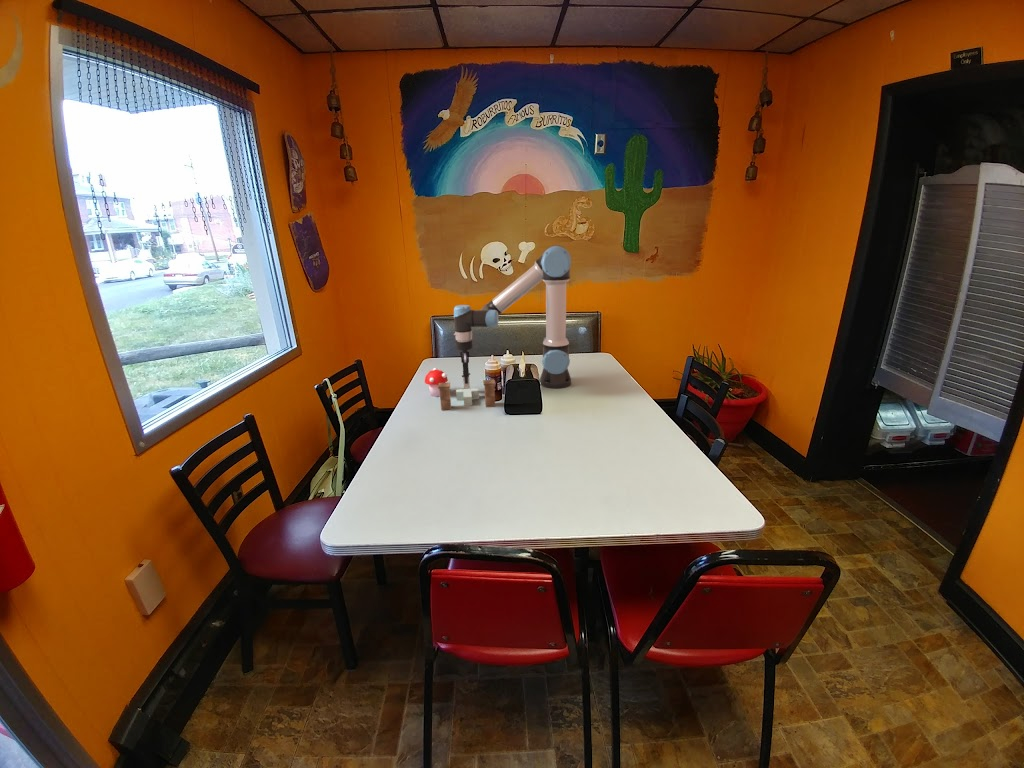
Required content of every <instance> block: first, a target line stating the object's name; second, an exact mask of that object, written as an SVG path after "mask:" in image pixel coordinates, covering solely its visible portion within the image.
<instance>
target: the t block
mask: <svg viewBox="0 0 1024 768" xmlns="http://www.w3.org/2000/svg"><path fill="white" fill-rule="evenodd" d="M455 394H456V395H455V397H456V401H463V405H464V407H469V406H470V407H471V406H473V400H479V399H480V395H479V394H480V393H479V388H478V387H474V388H470V389H464V388H462V389H461V388H460V389H455Z"/></svg>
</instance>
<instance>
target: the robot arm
mask: <svg viewBox="0 0 1024 768" xmlns="http://www.w3.org/2000/svg"><path fill="white" fill-rule="evenodd" d="M571 265H572V258H571V254H570V252H569V251H568V250H567V249H566V248H565V247H564V246H562V245H560V244H559V245H558V244H555V245H550V246H549V247H547V248H546V249H545V251H544V252H543V253H542V254H541V256H539V257H538V258H537V259H536V260H535V261H534V264H533V265H532V266H531V267H530V268H528V270H527V271H525V272H524V273H523V274H522V275H520V276H519V277H518V278H517V279H515V280H514V281H513V282H512V283H510V284H509V285H508V286H506V288H505V289H503V290H502V291H501V292H500V293H498V294H497V295H496V296H495V297H493V298H492V299H491V300H490V301H489V302H487V303H486V304H484V305H483V306H482V308H481V309H471V305H469V304H468V305H467V304H458V305H455V306H454V308H453V321H454V333H453V336H455V348H456V350H458V351H460V352H459V353H460V358H461V359H460V360H461V361H460V362H461V364H462V375H461V378H463V379H462V380H463V381H462V382H463V389H471V388H470V387H471V385H470V375H471V373H470V371H469V363H470V350H472V349H473V348H474V347H473V345H474V344H473V328H496V327H498V325H499V316H500V315H501V314H502V313H504V312H505V311H506V310H508V308H510V307H511V306H512V305H513V304H515V303H517V301H519V300H520V299H521V298H522V297H524V296H525V295H526V294H527V293H529V292H530V291H531V290H532V289H534V288H535V287H536V286H537V285H539V283H541V282H542V281H543V283H544V284H545V337H544V338H543V340H542V360H541V361H542V362H541V363H542V366H543V367H542V371H541V375H540V378H539V383H540V382H541V384H540V385H541V386H542V387H545V388H549V389H562V388H567V387H569V386H571V384H572V377H571V374H570V371H569V369H568V368H569V367H570V363H571V362H570V360H571V359H570V341H569V339H568V338H567V337H566V335H567V334H566V333H567V283H568V282H569V281H570V279H571ZM468 350H469V351H468Z"/></svg>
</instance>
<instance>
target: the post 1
mask: <svg viewBox="0 0 1024 768" xmlns="http://www.w3.org/2000/svg"><path fill="white" fill-rule="evenodd" d="M450 388H451V382H449V381H448V382H446V383H439V385H438V389H440V396H439V397H440V399H439V400H440V409H441V411H451V410H452V402H451V389H450Z"/></svg>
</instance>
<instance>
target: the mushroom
mask: <svg viewBox="0 0 1024 768" xmlns="http://www.w3.org/2000/svg"><path fill="white" fill-rule="evenodd" d="M448 382H449V380H448V374H447V373H446V372H444V371H443V370H441V369H440V370H439V369H438V368H436V367H434V368H433V369H432V370H429V371H428V373H427V374H426V375H425V377H424V383H425V385H428V388H429V389H428V390H429V393H430V395H431V397H436V398H438V397H440V389H438V385H439V383H448Z"/></svg>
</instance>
